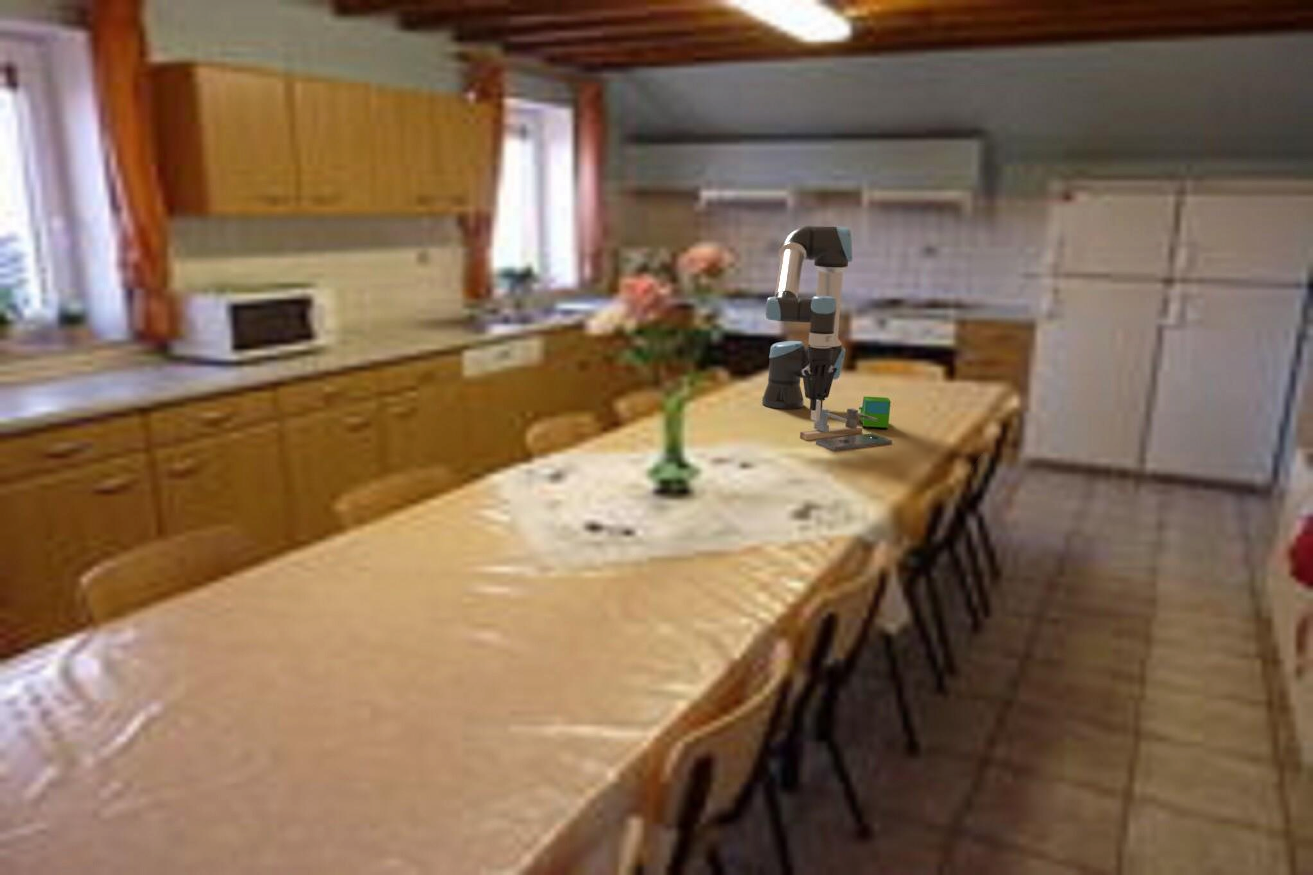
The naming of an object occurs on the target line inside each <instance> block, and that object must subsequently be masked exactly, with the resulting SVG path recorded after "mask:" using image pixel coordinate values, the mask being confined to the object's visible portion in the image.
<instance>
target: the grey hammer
mask: <svg viewBox="0 0 1313 875" xmlns="http://www.w3.org/2000/svg"><path fill="white" fill-rule="evenodd" d="M828 418H833V419H836V420H838V421H842V422H843V423H844V422H845V423H846V422H847V419H846V418H847V417H842V416H839V415H836V414H833V413H830V412H829V409H828V408H825V407H823V406H822V410H820V421H815V422H813V429H814V430H819V431H822V432H829V429H830V425H829V424H828Z"/></svg>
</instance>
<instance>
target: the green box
mask: <svg viewBox="0 0 1313 875" xmlns="http://www.w3.org/2000/svg"><path fill="white" fill-rule="evenodd" d="M862 399H863V400H862V407H860V406H858V407H859V408H858V409H859V410H860V412H859V413H861V414H864V415H867V416H870V417H873V418H877V419H878V420H877V421H872V420H869V419H866V418H863V417H860V416H859V419H860V420H859V422H860V423H861V424H862V429H867V427H872V428H873V427H874V428H882V429H883V428H884V429H883V430H887V429H888V428H889V422H890V412H891V402H892V401H891V400H890V398H889V397H880V396H863V397H862Z"/></svg>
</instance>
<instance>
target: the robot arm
mask: <svg viewBox="0 0 1313 875" xmlns="http://www.w3.org/2000/svg"><path fill="white" fill-rule="evenodd" d="M852 241H853V240H852V232H851V229H849V228H848V227H843V226H826V225H825V226H822V225H819V226H817V225H816V226H814V225H805V226H800V227H798V228H796V229H794V230H793V231H791V232H790V233H788V234H787V236H785V238H784V239H783V240H782V241H781V244H780V246H779V251H778V258H779V268H778V273H777V280H776V285H775V291H774V296H769V297H768V298H767V299H766V303H765V304H766V305H765V317H766V319H767V320H768V321H775V322H795V323H796V322H797V323H809V333H808V334H809V335H808V343H807V344H808V345H804V343H803V342H802V341H801V340H800V341H799V340H797V341H796V340H788V341H787V340H786V341H780V342H775V343H773V344H772V345H771V346H770V351H769V356H768V358H769V365H768V366H769V367H768V375H767V376H768V378H767V379H768V380H767V385H766V388H765V391H764V394H763V396H762V397H761V398H762V399H761V404H762V405H763V406H765V407H768V408H773V409H782V410H794V409H801V408H803V407H804V402H805V401H804V397H805V399H809V403H810V404H809V410H811V411H810V420H812V421H815V422H816V421H820V410H822V407H823V403H824V401H826V399H827V398H829V396H830V392H831V388H832V384H833V381H835V380H838V379H839V378H840V377H841V372H842V369H843V368H842V367H843V363H844V358H845V354H846V353H845V352H846V348H844V347H842V346H843V345H842V342H841V341H840V339H839V328H840V315H841V314H840V313H841V301H842V300H841V299H842V288H843V287H842V286H843V277H844V276H843V275H844V271H845V270H847V269H848V267H849V263H851V262H853V242H852ZM807 260H808V261H814V263H813V265H814V267H815V268H816V269H817V282H816V295H815V296H813V297H812V298H801V297H798V296H799V290H800V284H801V279H802V278H801V276H802V270H803V264H804V263H805V261H807ZM801 379H802V380H803V389H804V396H803V392H802V388H801Z"/></svg>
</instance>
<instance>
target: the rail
mask: <svg viewBox="0 0 1313 875" xmlns="http://www.w3.org/2000/svg"><path fill="white" fill-rule="evenodd" d="M858 417H859V418H860V417H863V418H866V419H869V420H872V421H877V420H878V419H877V418H873V417H870V416H867V415H864V414H861V413H860V412H859V410H858V409H856V408H852V407H851V408H847V409H846V417H845V418H846V419H847V422H845V426H840V427H832V428H830V427H829V432H822V431H819V430H817V429H814V430H804V431H800V432H799V433H800V434H799V438H800V439H801V440H804V441H811V440H821V439H829V438H838V437H846V436H854V435H860V434H859V433H861V434H863V426H859V425H858Z"/></svg>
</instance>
